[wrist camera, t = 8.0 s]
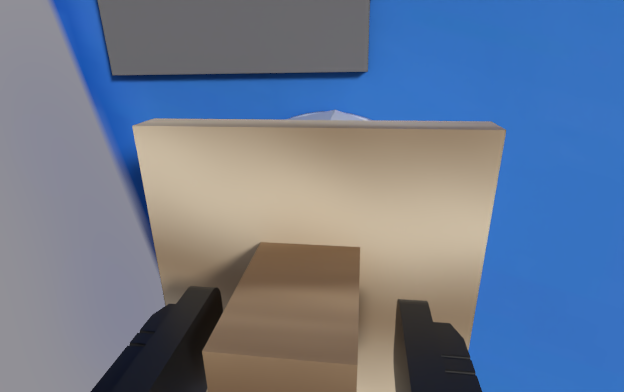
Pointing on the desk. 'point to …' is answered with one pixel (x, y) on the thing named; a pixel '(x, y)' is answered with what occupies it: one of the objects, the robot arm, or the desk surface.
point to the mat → (235, 36)
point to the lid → (318, 238)
